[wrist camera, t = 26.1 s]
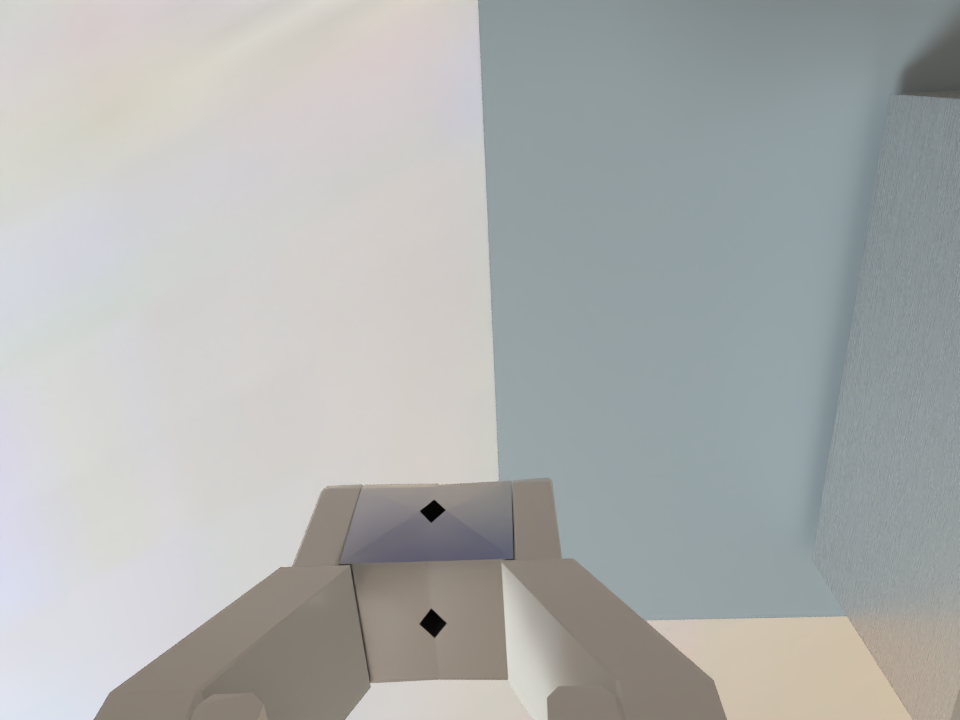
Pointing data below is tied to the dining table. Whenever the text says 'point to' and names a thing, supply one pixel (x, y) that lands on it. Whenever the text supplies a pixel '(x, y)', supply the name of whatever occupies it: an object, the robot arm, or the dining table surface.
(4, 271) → the dining table surface
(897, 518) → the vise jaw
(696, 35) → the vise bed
